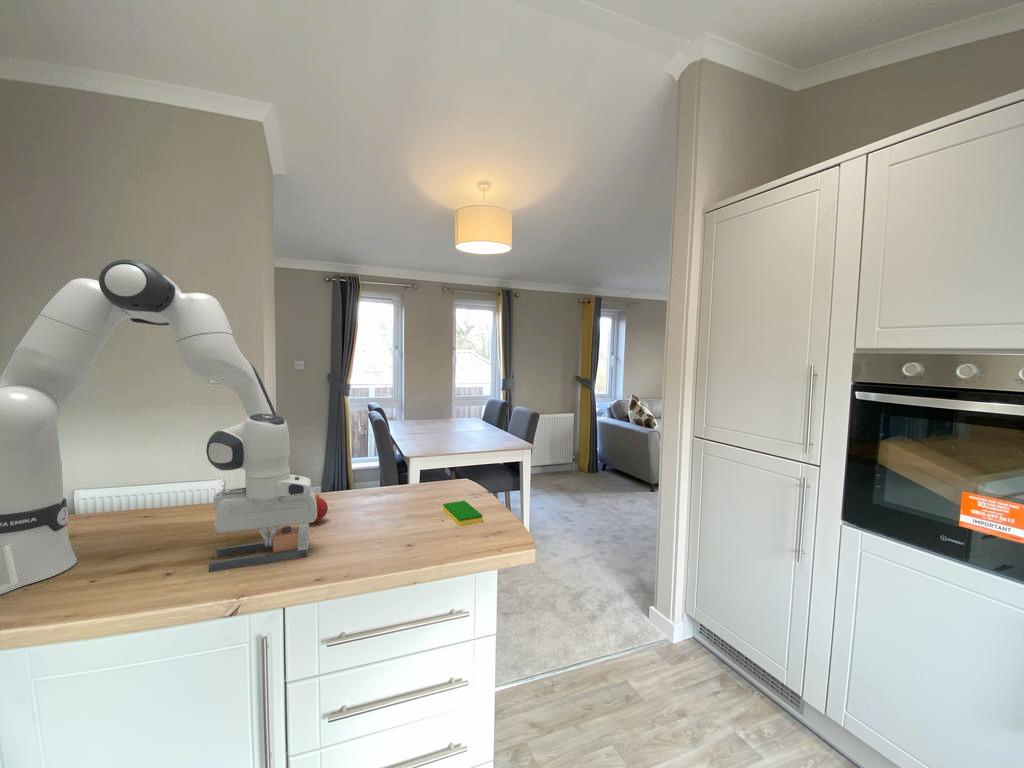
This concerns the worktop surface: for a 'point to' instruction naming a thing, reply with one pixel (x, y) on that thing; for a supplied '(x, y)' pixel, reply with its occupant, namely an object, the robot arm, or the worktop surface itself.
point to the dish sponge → (462, 513)
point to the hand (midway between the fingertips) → (269, 545)
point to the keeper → (285, 539)
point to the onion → (320, 508)
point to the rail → (261, 558)
